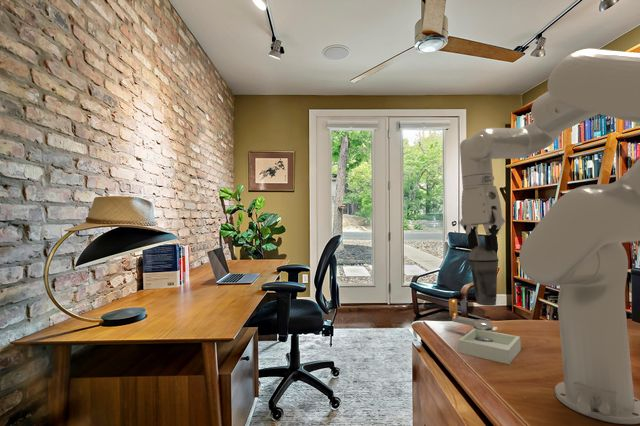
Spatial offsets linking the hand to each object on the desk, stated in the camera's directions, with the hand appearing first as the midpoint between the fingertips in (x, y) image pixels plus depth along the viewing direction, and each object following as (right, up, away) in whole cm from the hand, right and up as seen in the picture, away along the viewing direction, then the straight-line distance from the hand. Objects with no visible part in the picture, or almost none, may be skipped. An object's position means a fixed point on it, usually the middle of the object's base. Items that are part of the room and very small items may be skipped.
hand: (482, 249), depth 84 cm
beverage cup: (+1, -15, -1) cm, 15 cm away
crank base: (+4, -27, +7) cm, 28 cm away
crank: (+2, -24, +10) cm, 26 cm away
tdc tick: (+11, -27, +15) cm, 33 cm away
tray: (+1, -27, -1) cm, 27 cm away
